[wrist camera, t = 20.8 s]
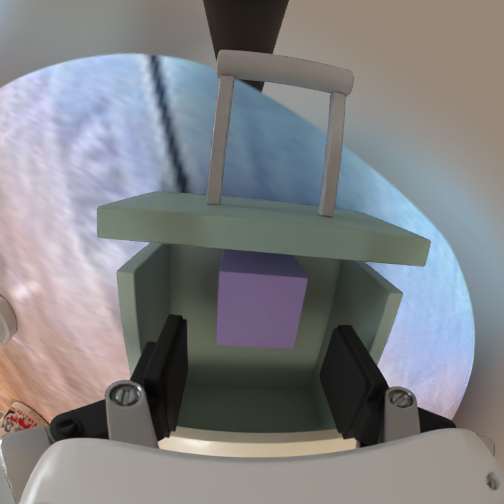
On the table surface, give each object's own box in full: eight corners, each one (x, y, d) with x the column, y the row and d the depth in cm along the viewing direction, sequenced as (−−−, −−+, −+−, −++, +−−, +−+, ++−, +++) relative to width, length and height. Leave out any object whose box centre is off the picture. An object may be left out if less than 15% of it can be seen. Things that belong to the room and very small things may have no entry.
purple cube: (224, 246, 16) (219, 270, 12) (292, 252, 16) (308, 277, 12) (220, 308, 17) (215, 344, 13) (282, 312, 17) (293, 349, 13)
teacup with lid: (54, 422, 24) (23, 479, 13) (60, 447, 26) (38, 496, 15) (-5, 379, 22) (-41, 424, 11) (6, 410, 24) (-21, 451, 13)
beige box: (152, 336, 20) (112, 423, 11) (334, 348, 21) (374, 432, 12) (168, 442, 24) (156, 507, 15) (295, 449, 25) (308, 512, 16)
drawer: (166, 80, 14) (122, 29, 7) (374, 108, 15) (443, 82, 8) (159, 376, 20) (137, 444, 13) (320, 385, 21) (343, 452, 14)
